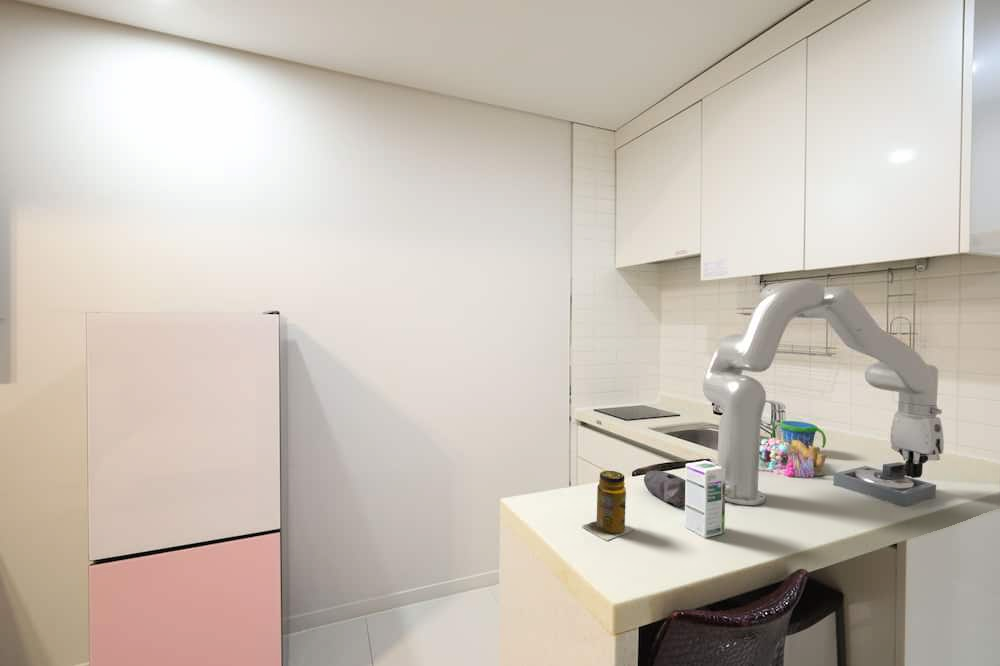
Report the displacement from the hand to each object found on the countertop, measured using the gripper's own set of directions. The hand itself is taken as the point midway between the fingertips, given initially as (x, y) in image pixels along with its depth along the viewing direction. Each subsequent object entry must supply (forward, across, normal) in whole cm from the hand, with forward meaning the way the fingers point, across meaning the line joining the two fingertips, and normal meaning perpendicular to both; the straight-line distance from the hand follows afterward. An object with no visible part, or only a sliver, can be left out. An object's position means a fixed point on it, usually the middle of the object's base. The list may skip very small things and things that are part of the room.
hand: (913, 476), depth 121 cm
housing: (+4, +3, +7) cm, 9 cm away
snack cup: (+4, +35, 0) cm, 35 cm away
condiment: (+4, 0, +92) cm, 92 cm away
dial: (+2, +3, +6) cm, 7 cm away
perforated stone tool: (+4, +11, +70) cm, 71 cm away
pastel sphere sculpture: (+5, +27, +18) cm, 33 cm away
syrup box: (+4, -6, +72) cm, 72 cm away
